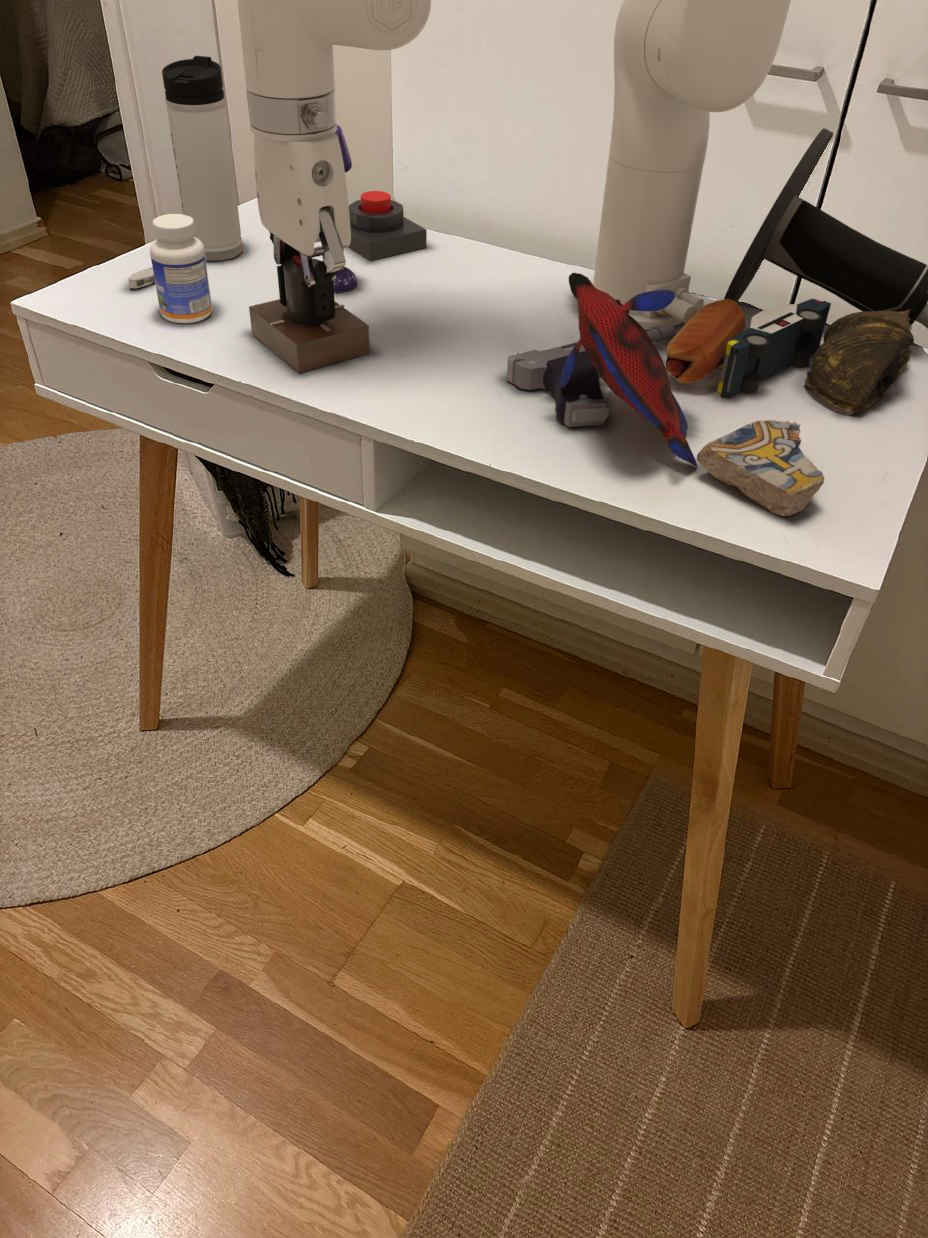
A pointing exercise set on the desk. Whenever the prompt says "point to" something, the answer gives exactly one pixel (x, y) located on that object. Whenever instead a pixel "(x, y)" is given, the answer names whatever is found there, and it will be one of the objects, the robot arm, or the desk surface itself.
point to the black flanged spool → (832, 252)
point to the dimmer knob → (295, 288)
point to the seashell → (861, 358)
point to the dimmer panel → (309, 336)
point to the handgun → (582, 391)
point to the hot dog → (704, 341)
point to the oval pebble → (141, 278)
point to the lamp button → (375, 202)
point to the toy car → (772, 345)
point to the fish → (628, 357)
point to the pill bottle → (180, 270)
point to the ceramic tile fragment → (765, 465)
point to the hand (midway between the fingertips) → (307, 309)
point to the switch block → (384, 232)
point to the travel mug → (203, 154)
